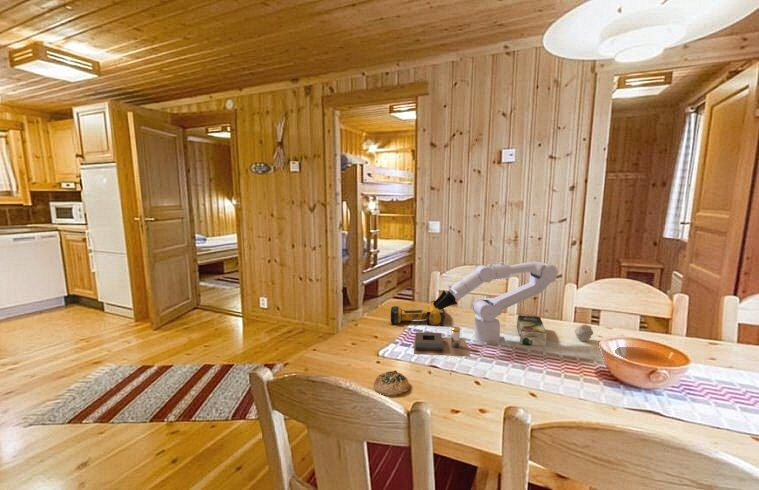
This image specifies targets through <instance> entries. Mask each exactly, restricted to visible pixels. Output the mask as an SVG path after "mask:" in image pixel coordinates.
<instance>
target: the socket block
mask: <svg viewBox="0 0 759 490" xmlns="http://www.w3.org/2000/svg"><path fill="white" fill-rule="evenodd" d="M414 336H415V350H418V351H442V352H443V341H442V337H443V336H442V333H441V332H420V331H419V332H418V331H416V332H415V335H414Z"/></svg>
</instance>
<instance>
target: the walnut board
mask: <svg viewBox="0 0 759 490" xmlns="http://www.w3.org/2000/svg"><path fill="white" fill-rule="evenodd" d="M415 336H416V335H414V339H413V340H414V341H413V355H423V356H425V355H426V356H427V355H429V356H450V357H452V356H453V357H471V354H470V350H469V348H468V345H467V342H466V338H465V337H460V341H459V348H453V347H451V337H443V336H442V341H443V352H442V351H418V350H415Z"/></svg>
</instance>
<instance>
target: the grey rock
mask: <svg viewBox="0 0 759 490" xmlns="http://www.w3.org/2000/svg"><path fill="white" fill-rule="evenodd" d="M574 333H575V336H576V339H578V340H579V341H580V342H588V341H589V340H590V339H591V338H592V336H593V335H594V331H593V329H592V326H590V325H588V324H581V325H578V326H577V327H575V330H574Z"/></svg>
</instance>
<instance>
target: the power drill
mask: <svg viewBox="0 0 759 490" xmlns="http://www.w3.org/2000/svg"><path fill="white" fill-rule="evenodd" d="M435 301H436V300H432V301H431V302H430V303H429V304H428V307H426V308H425V309H417V310H416V309H415V310H409V309H408V310H405V309H402V307H401V306H396V305H393V306H392V307H391V308H390V323H391V324H401V322H402V321H418V320H419V321H422V320H426V325H427V326H430V325H431V326H439V325H440V327H444V320H445V318H446V316H445V314H446V313H445V308H443V309H441V310H438V308H435V306H434V305H433V303H434V302H435Z"/></svg>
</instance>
